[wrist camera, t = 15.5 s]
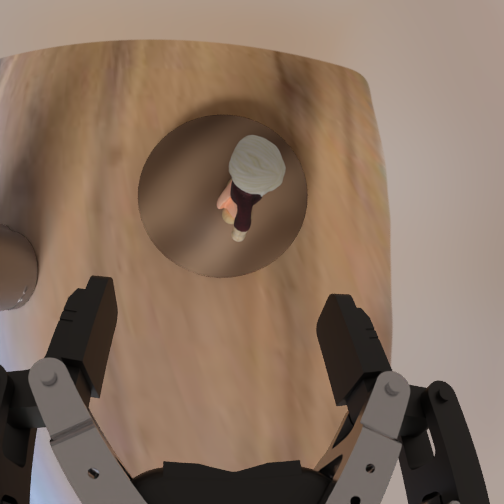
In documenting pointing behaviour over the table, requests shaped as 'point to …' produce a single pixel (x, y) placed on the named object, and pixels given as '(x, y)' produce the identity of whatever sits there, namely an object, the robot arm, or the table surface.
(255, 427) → the table surface
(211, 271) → the walnut plinth
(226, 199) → the grandmother figurine
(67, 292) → the table surface
